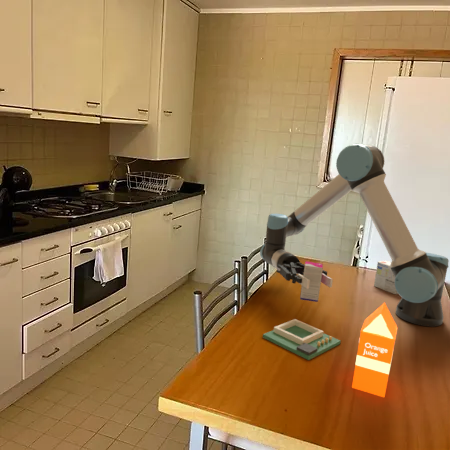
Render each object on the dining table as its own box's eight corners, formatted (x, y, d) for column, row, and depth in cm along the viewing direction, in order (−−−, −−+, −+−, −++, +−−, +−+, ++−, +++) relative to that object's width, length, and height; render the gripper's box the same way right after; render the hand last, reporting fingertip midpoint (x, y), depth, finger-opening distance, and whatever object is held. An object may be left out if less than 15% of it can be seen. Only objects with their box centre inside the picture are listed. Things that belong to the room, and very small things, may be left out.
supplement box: (318, 302, 141) (322, 267, 139) (299, 299, 142) (303, 265, 140) (318, 296, 147) (322, 263, 144) (300, 293, 148) (304, 260, 145)
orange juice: (388, 380, 111) (401, 305, 107) (384, 397, 103) (399, 317, 99) (356, 371, 114) (368, 297, 110) (350, 387, 106) (363, 309, 102)
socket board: (340, 343, 128) (341, 335, 128) (308, 360, 117) (309, 351, 117) (295, 324, 139) (296, 316, 139) (262, 337, 128) (263, 329, 128)
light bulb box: (405, 292, 179) (410, 267, 177) (395, 295, 175) (399, 269, 173) (383, 284, 188) (387, 259, 186) (373, 286, 184) (377, 261, 182)
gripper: (309, 271, 164) (345, 293, 143) (259, 273, 157) (289, 296, 136) (311, 252, 162) (349, 271, 141) (261, 253, 155) (292, 273, 134)
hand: (319, 283), depth 139 cm, fingers closed on supplement box, 8 cm apart
